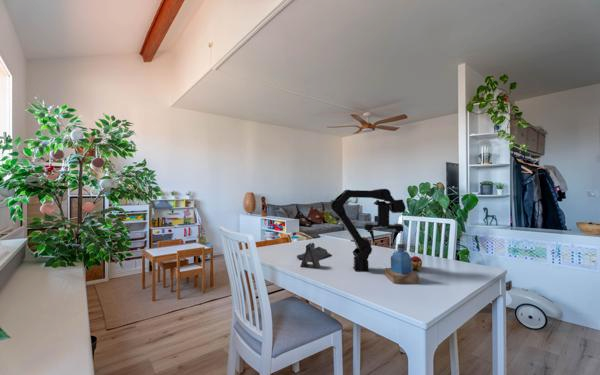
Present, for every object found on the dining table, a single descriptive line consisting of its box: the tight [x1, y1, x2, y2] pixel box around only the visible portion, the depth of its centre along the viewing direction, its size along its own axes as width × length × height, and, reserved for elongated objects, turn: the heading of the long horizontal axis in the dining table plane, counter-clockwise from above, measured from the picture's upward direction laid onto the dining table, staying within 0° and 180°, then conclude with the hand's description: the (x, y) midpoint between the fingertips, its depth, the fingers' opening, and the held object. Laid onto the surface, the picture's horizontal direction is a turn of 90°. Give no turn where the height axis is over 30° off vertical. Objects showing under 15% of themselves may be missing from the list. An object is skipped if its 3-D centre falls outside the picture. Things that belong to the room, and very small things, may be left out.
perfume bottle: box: [390, 243, 411, 274], centre depth 128 cm, size 6×6×12 cm
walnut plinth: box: [384, 267, 420, 284], centre depth 127 cm, size 11×11×4 cm
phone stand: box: [300, 242, 321, 270], centre depth 148 cm, size 9×6×12 cm, turn 69°
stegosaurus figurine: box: [296, 246, 333, 263], centre depth 168 cm, size 15×22×5 cm
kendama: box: [410, 256, 423, 272], centre depth 141 cm, size 8×6×18 cm
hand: (383, 243), depth 144 cm, fingers open, 9 cm apart
